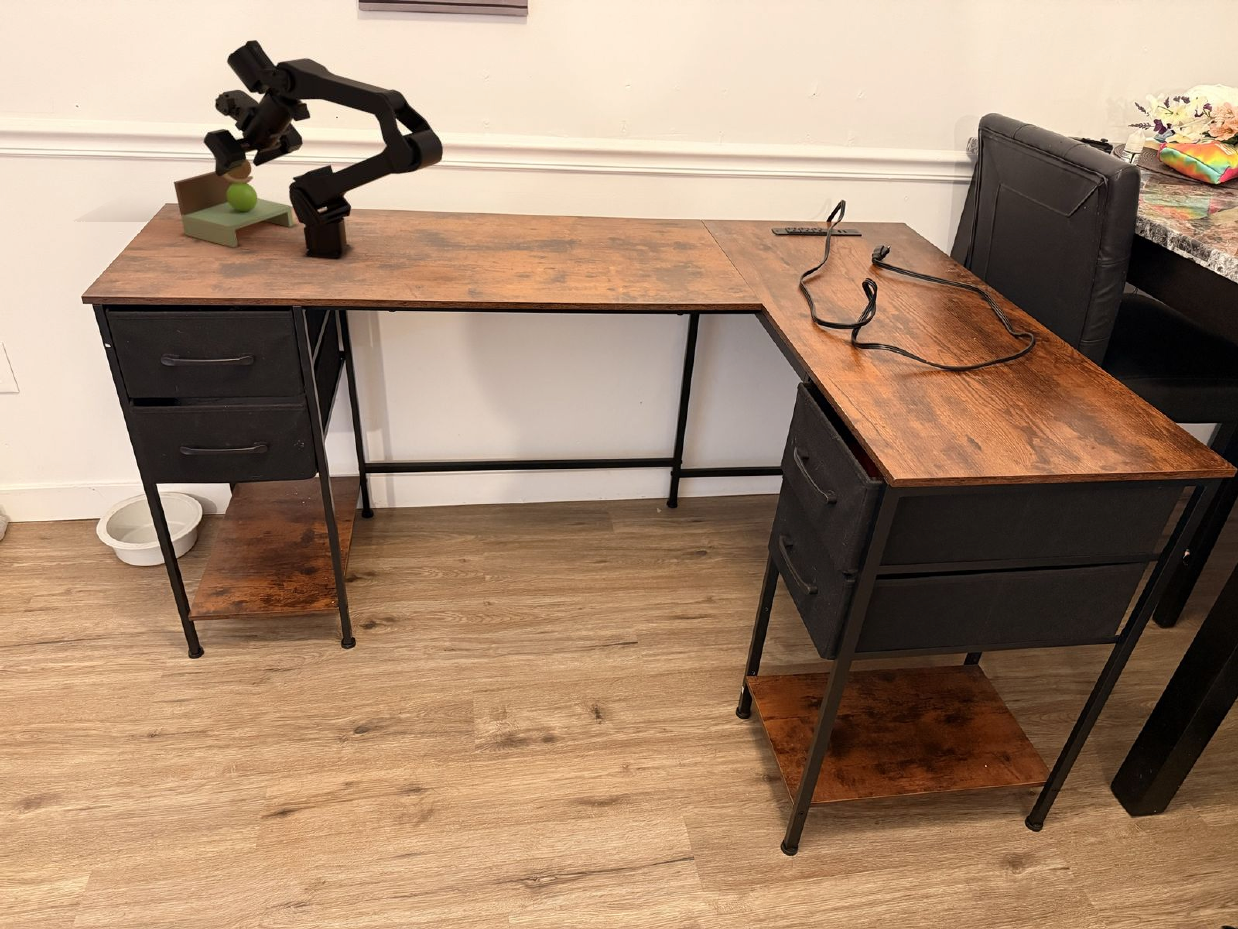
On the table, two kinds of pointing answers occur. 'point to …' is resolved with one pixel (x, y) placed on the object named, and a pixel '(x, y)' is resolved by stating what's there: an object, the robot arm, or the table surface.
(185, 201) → the bench with backrest
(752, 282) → the table surface
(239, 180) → the snail figurine
